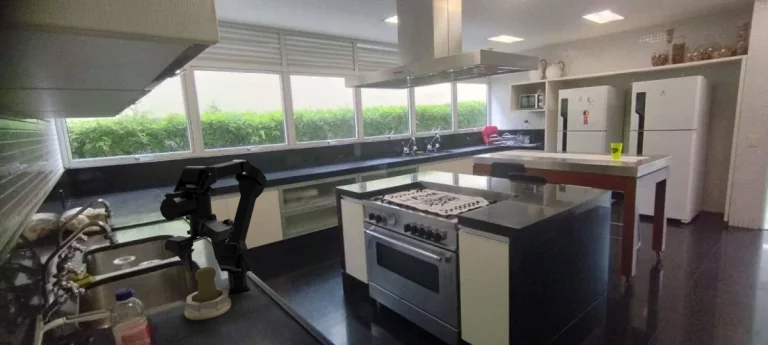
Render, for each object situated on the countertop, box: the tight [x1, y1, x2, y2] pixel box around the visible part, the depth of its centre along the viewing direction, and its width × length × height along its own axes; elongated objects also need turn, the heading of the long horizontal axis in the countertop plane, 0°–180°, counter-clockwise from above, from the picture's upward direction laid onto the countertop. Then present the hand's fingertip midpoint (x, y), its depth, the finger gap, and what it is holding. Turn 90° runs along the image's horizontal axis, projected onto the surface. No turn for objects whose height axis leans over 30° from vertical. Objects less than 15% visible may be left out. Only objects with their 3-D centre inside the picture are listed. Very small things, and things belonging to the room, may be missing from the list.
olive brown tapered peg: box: [194, 266, 219, 303], centre depth 103 cm, size 6×6×11 cm
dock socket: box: [183, 286, 232, 321], centre depth 103 cm, size 12×12×4 cm
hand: (204, 265), depth 102 cm, fingers open, 9 cm apart
